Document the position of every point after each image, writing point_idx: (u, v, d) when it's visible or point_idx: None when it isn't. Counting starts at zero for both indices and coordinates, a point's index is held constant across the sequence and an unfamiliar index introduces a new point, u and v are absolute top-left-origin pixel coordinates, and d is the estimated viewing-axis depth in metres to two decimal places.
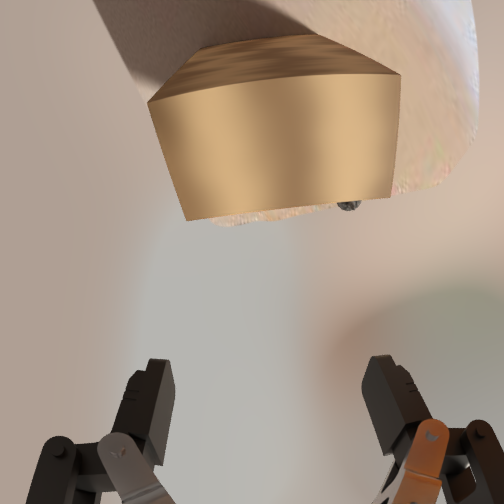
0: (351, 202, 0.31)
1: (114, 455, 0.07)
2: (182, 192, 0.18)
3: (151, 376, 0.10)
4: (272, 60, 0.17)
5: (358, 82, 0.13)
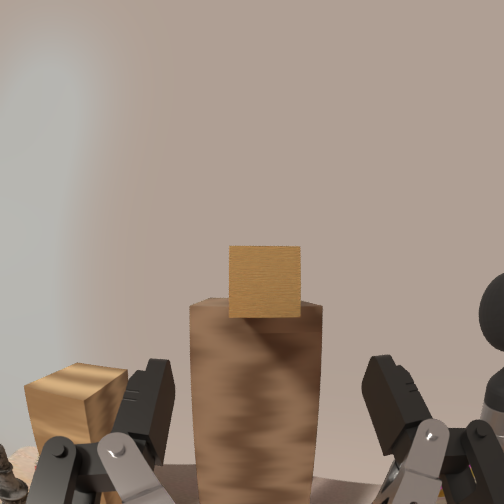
0: None
1: (114, 455, 0.07)
2: (89, 365, 0.36)
3: (151, 376, 0.10)
4: (112, 423, 0.30)
5: (90, 392, 0.26)
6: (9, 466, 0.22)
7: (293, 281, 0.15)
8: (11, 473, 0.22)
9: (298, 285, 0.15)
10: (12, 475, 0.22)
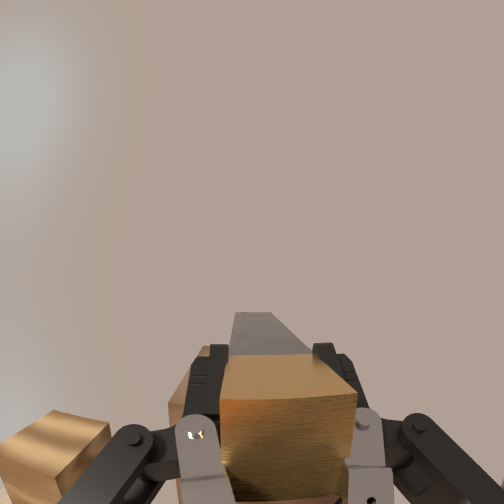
0: None
1: (195, 437, 0.08)
2: (66, 414, 0.28)
3: (216, 360, 0.11)
4: None
5: (62, 463, 0.18)
6: None
7: (339, 449, 0.07)
8: None
9: (347, 453, 0.07)
10: None
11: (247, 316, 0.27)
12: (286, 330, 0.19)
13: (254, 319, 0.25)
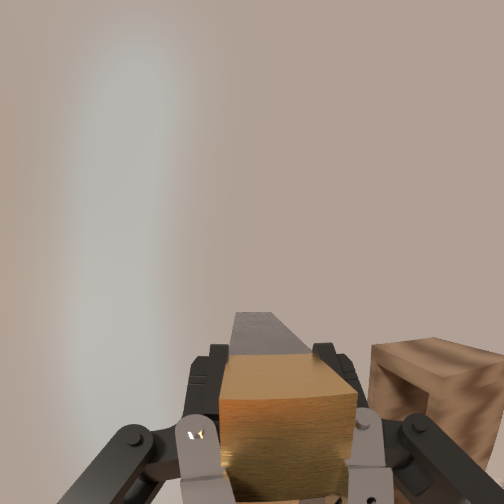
0: None
1: (195, 437, 0.08)
2: None
3: (216, 360, 0.11)
4: None
5: None
6: None
7: (339, 450, 0.07)
8: None
9: (347, 453, 0.07)
10: None
11: (247, 316, 0.27)
12: (286, 330, 0.19)
13: (254, 319, 0.25)
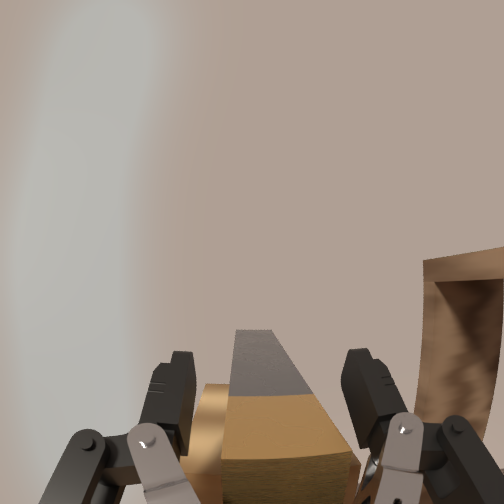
0: None
1: (145, 445, 0.07)
2: None
3: (176, 368, 0.10)
4: None
5: None
6: None
7: (333, 497, 0.07)
8: None
9: (341, 499, 0.07)
10: None
11: (247, 336, 0.27)
12: (286, 358, 0.18)
13: (254, 341, 0.24)
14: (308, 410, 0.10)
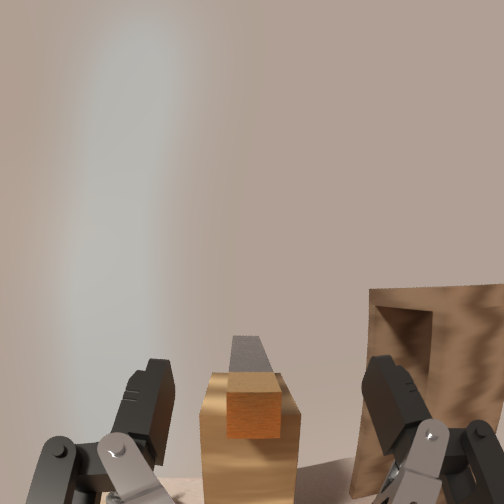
0: None
1: (114, 455, 0.07)
2: None
3: (151, 376, 0.10)
4: None
5: (290, 404, 0.24)
6: None
7: (275, 415, 0.18)
8: None
9: (279, 418, 0.18)
10: None
11: (241, 340, 0.38)
12: (264, 354, 0.30)
13: (245, 343, 0.36)
14: (268, 378, 0.22)
